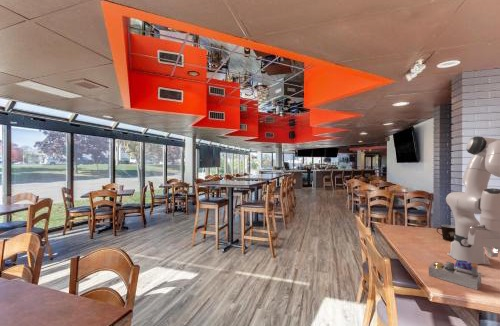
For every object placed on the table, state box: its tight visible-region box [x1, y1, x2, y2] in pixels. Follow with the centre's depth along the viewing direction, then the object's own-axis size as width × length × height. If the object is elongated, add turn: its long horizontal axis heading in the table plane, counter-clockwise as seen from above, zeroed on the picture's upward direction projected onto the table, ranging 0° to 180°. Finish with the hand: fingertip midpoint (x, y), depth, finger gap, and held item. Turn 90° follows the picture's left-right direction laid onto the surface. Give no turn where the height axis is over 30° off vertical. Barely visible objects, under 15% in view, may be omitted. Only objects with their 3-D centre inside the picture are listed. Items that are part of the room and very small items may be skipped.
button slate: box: [445, 261, 455, 271], centre depth 119 cm, size 3×3×4 cm
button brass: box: [434, 261, 444, 268], centre depth 123 cm, size 3×3×4 cm
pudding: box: [454, 260, 480, 273], centre depth 127 cm, size 12×12×5 cm
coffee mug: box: [436, 224, 455, 242], centre depth 180 cm, size 12×9×10 cm
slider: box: [471, 263, 479, 276], centre depth 112 cm, size 3×1×5 cm, turn 129°
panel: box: [428, 261, 482, 291], centre depth 118 cm, size 10×18×5 cm, turn 39°
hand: (492, 256), depth 108 cm, fingers closed
